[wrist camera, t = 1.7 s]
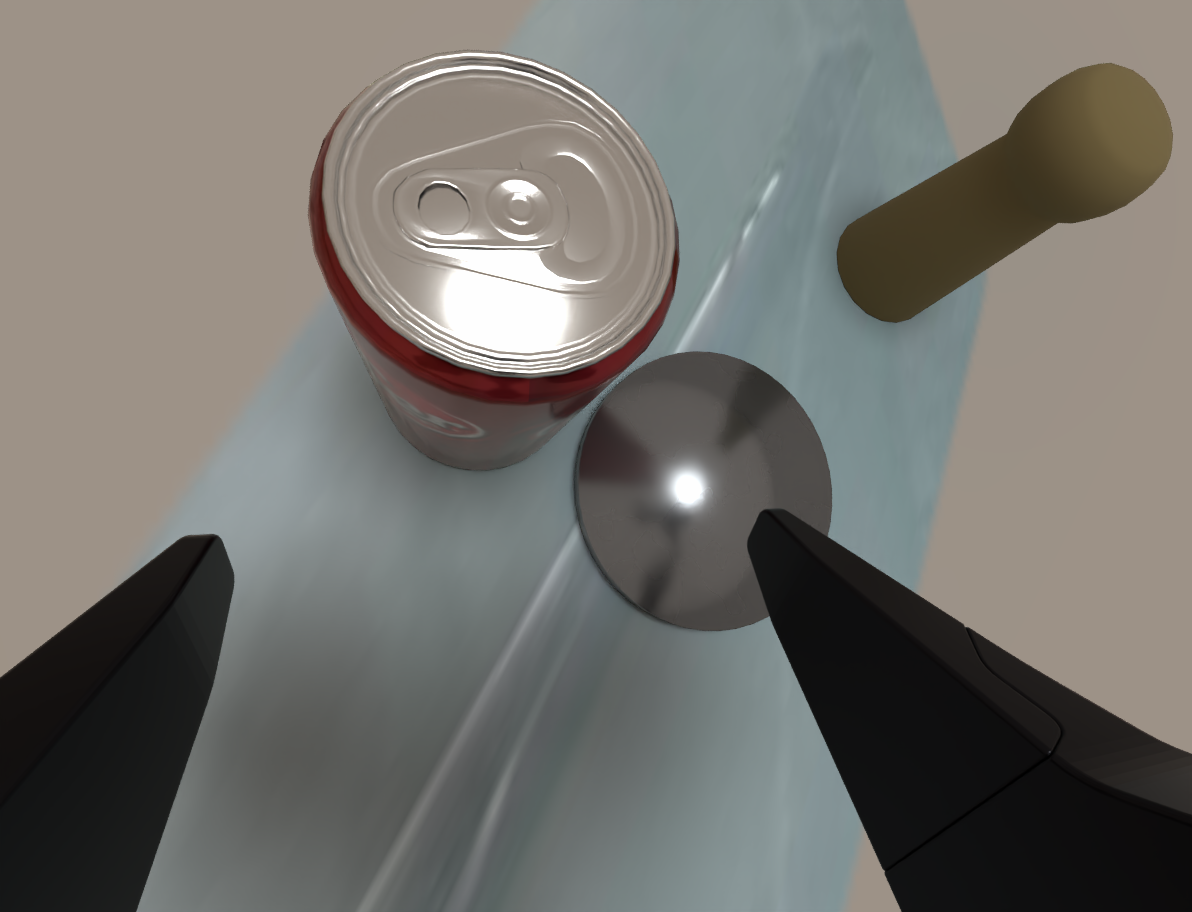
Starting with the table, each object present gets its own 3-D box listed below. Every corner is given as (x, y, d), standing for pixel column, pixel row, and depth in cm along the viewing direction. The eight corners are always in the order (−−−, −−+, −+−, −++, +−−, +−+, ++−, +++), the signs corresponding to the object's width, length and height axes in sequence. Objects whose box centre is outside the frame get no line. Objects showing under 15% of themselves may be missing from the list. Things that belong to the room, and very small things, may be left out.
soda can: (557, 299, 23) (669, 60, 11) (574, 465, 22) (714, 388, 10) (376, 296, 21) (289, 0, 9) (387, 479, 20) (307, 403, 8)
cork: (946, 278, 29) (1226, 135, 19) (891, 344, 27) (1165, 227, 17) (877, 195, 29) (1125, 0, 18) (816, 257, 27) (1052, 80, 16)
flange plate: (828, 621, 24) (841, 623, 23) (573, 634, 21) (578, 638, 20) (812, 368, 26) (823, 363, 25) (574, 345, 23) (579, 338, 22)
